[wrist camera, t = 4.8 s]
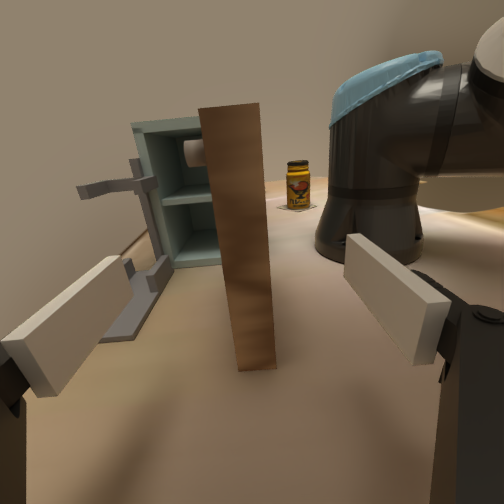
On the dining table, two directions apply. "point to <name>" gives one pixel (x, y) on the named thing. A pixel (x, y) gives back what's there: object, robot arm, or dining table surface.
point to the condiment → (298, 186)
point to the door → (240, 224)
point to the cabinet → (163, 214)
